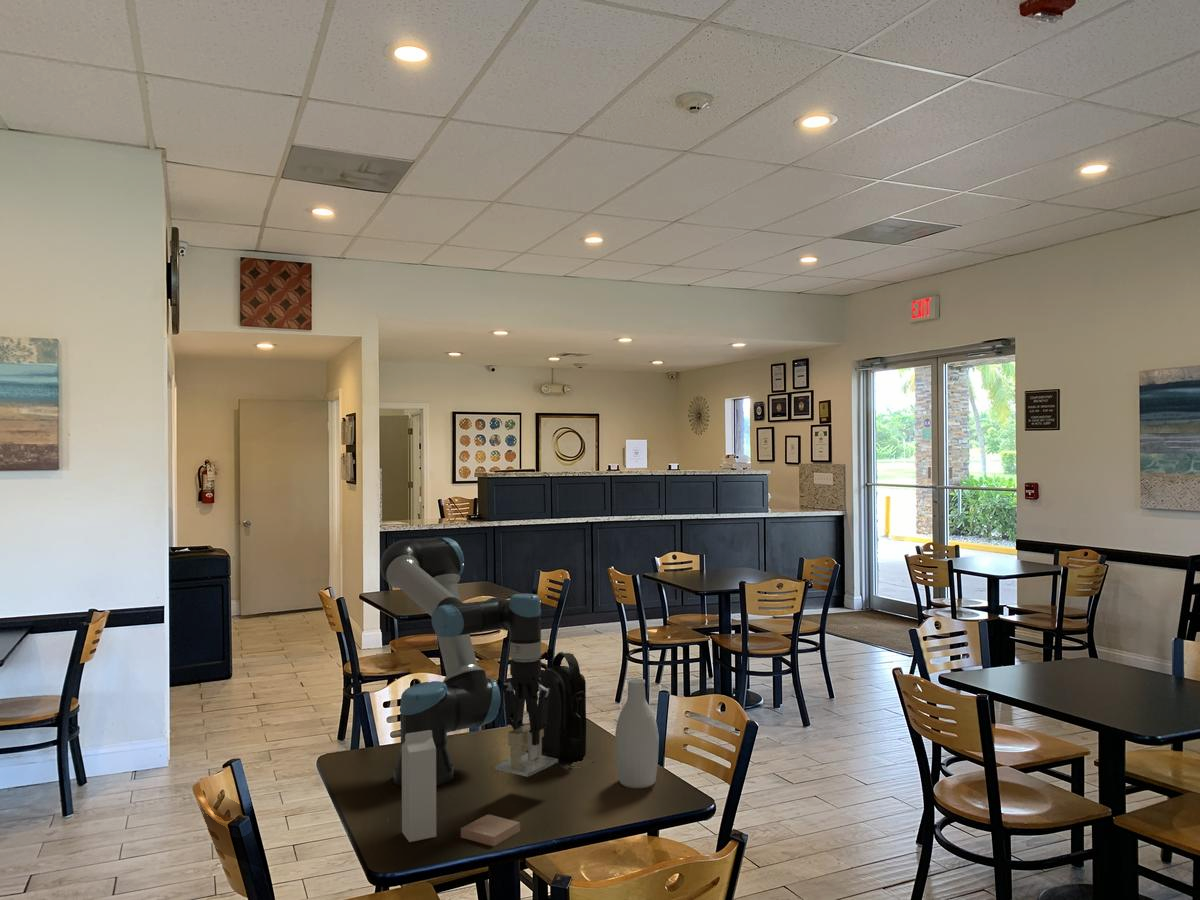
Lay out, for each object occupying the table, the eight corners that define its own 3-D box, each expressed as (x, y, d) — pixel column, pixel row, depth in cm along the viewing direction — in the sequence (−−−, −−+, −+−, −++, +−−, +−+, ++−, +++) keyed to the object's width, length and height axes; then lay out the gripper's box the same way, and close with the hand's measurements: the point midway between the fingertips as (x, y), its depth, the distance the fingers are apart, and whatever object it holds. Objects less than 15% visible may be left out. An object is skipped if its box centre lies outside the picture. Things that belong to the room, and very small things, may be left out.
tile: (487, 824, 194) (460, 839, 187) (487, 814, 194) (460, 828, 187) (520, 833, 190) (493, 848, 182) (519, 822, 190) (493, 837, 182)
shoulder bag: (596, 764, 233) (595, 659, 233) (565, 769, 229) (564, 662, 229) (564, 741, 253) (563, 644, 254) (534, 745, 249) (533, 647, 250)
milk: (401, 832, 190) (400, 730, 190) (429, 827, 192) (427, 726, 193) (409, 842, 184) (408, 737, 185) (437, 836, 187) (436, 733, 188)
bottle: (662, 776, 223) (661, 676, 224) (655, 791, 212) (654, 686, 213) (620, 773, 226) (619, 674, 226) (610, 788, 215) (609, 684, 215)
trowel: (525, 755, 218) (525, 719, 218) (558, 762, 213) (557, 724, 213) (494, 769, 208) (494, 731, 208) (527, 776, 202) (527, 737, 203)
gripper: (489, 658, 212) (490, 755, 212) (543, 665, 204) (544, 767, 203) (509, 652, 219) (510, 747, 218) (561, 659, 210) (562, 758, 209)
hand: (526, 756), depth 210 cm, fingers closed on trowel, 3 cm apart
